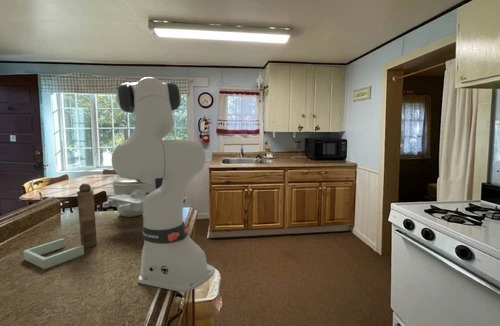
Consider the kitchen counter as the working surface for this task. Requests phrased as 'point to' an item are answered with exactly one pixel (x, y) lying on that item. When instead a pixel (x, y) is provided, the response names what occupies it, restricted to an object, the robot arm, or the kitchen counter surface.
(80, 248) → the box
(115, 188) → the canister
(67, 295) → the kitchen counter surface
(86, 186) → the pepper mill
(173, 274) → the robot arm
